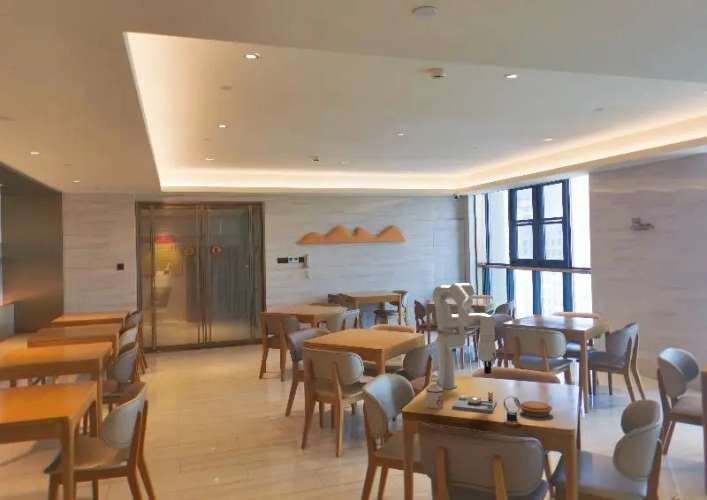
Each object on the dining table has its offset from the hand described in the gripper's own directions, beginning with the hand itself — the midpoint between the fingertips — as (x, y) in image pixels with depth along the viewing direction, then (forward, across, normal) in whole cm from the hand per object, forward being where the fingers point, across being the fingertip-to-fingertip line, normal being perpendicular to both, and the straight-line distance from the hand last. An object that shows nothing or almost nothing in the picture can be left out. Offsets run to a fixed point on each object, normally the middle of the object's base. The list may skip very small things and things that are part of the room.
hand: (487, 373), depth 275 cm
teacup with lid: (+16, -10, -26) cm, 32 cm away
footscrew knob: (+14, +1, -6) cm, 16 cm away
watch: (+17, +24, -4) cm, 30 cm away
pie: (+17, +22, +12) cm, 30 cm away
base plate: (+16, -1, -8) cm, 18 cm away
